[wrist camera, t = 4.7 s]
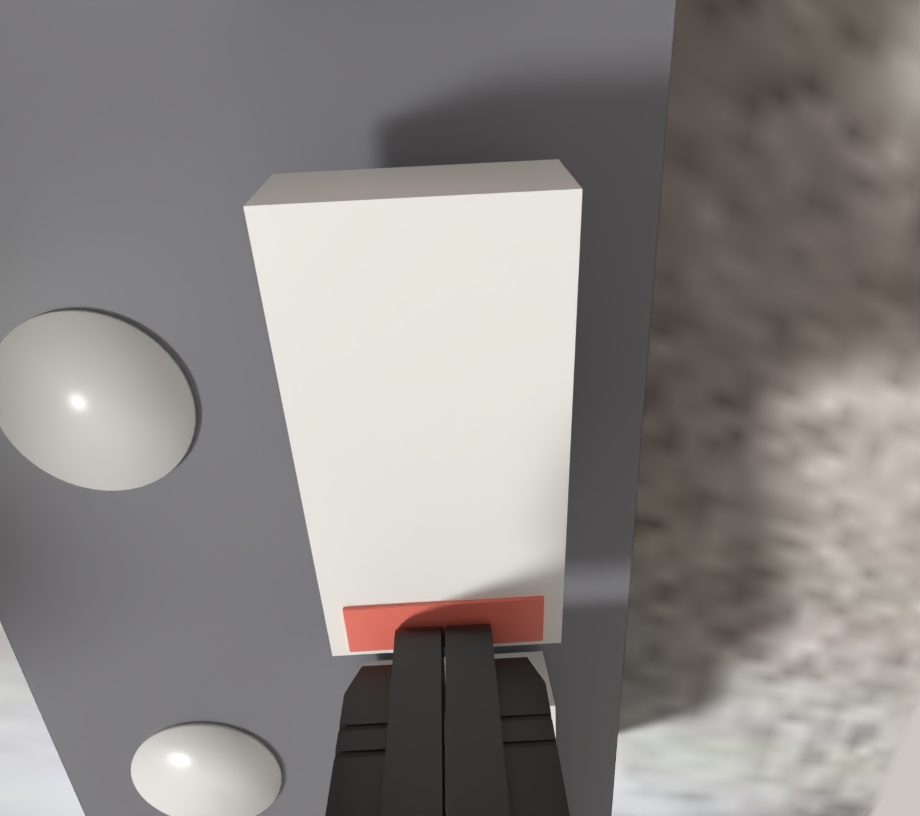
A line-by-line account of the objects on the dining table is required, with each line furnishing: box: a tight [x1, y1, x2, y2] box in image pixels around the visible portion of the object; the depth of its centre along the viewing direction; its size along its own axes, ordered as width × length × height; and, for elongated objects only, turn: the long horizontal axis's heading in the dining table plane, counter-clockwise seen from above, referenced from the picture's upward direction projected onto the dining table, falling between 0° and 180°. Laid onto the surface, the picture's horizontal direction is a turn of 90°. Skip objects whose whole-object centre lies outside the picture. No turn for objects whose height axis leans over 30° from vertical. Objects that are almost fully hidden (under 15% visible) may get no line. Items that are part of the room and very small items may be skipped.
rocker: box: [243, 159, 583, 656], centre depth 10 cm, size 7×4×2 cm, turn 2°
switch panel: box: [0, 0, 676, 816], centre depth 11 cm, size 37×12×5 cm, turn 3°
